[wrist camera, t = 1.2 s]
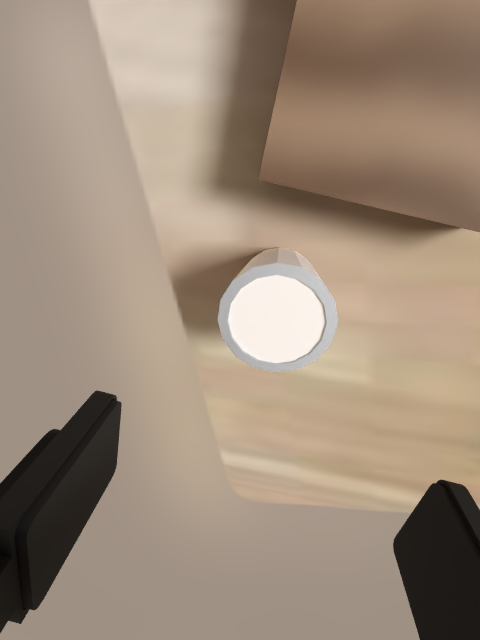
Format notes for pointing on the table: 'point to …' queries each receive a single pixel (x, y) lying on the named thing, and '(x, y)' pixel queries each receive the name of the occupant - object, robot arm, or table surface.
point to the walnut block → (382, 107)
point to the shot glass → (277, 312)
